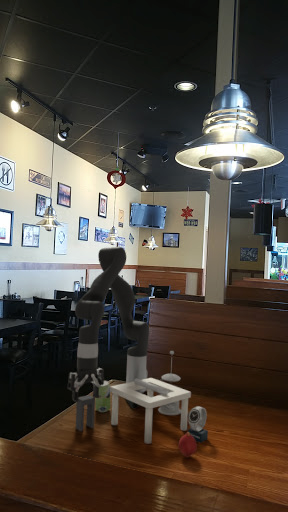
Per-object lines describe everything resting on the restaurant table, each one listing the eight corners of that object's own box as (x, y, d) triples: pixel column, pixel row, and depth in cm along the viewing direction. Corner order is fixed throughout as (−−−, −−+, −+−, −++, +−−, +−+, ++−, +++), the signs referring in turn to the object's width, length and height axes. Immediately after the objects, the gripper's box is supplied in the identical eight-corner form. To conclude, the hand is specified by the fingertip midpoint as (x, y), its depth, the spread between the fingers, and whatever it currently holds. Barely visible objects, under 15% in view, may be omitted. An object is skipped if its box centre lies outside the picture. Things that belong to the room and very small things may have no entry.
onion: (176, 452, 131) (177, 428, 131) (194, 452, 131) (195, 428, 131) (179, 461, 125) (180, 435, 125) (198, 461, 125) (198, 435, 126)
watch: (184, 439, 141) (185, 408, 141) (196, 433, 147) (198, 402, 147) (198, 445, 137) (199, 412, 137) (210, 437, 143) (211, 406, 143)
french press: (174, 417, 161) (177, 354, 162) (149, 410, 168) (152, 350, 168) (185, 409, 170) (187, 350, 170) (161, 403, 176) (163, 346, 176)
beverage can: (111, 408, 168) (112, 379, 168) (108, 414, 161) (109, 384, 161) (96, 407, 169) (97, 378, 169) (92, 413, 161) (94, 383, 162)
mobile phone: (139, 398, 169) (129, 386, 183) (132, 398, 168) (123, 386, 182) (139, 409, 169) (128, 397, 183) (132, 410, 168) (122, 397, 182)
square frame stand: (149, 411, 166) (151, 372, 166) (189, 429, 150) (191, 386, 150) (108, 423, 152) (110, 381, 152) (147, 444, 136) (149, 397, 136)
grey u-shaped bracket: (88, 424, 151) (89, 395, 151) (93, 427, 148) (95, 397, 148) (75, 428, 147) (76, 397, 147) (80, 431, 144) (82, 400, 144)
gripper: (97, 350, 155) (95, 393, 155) (65, 355, 146) (63, 399, 146) (109, 354, 150) (107, 398, 149) (76, 359, 140) (74, 405, 140)
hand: (85, 399), depth 147 cm, fingers open, 8 cm apart
